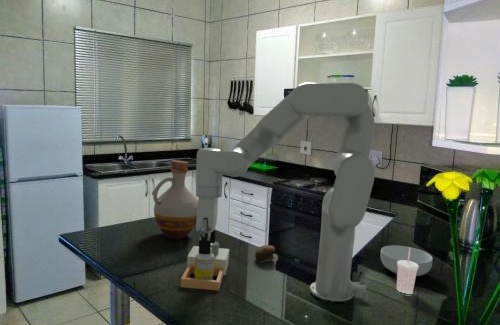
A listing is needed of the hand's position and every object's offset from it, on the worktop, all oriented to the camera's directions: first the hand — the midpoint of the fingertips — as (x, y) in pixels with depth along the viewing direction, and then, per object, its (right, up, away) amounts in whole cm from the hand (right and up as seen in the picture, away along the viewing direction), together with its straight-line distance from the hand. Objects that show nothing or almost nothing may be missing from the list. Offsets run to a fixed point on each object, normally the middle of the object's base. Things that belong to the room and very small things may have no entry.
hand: (207, 248), depth 120 cm
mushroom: (+18, -9, +21) cm, 29 cm away
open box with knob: (-1, -9, +6) cm, 11 cm away
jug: (-17, -4, +40) cm, 44 cm away
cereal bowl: (+65, -13, +20) cm, 70 cm away
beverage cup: (+60, -14, +4) cm, 61 cm away
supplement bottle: (-1, -10, +1) cm, 10 cm away
